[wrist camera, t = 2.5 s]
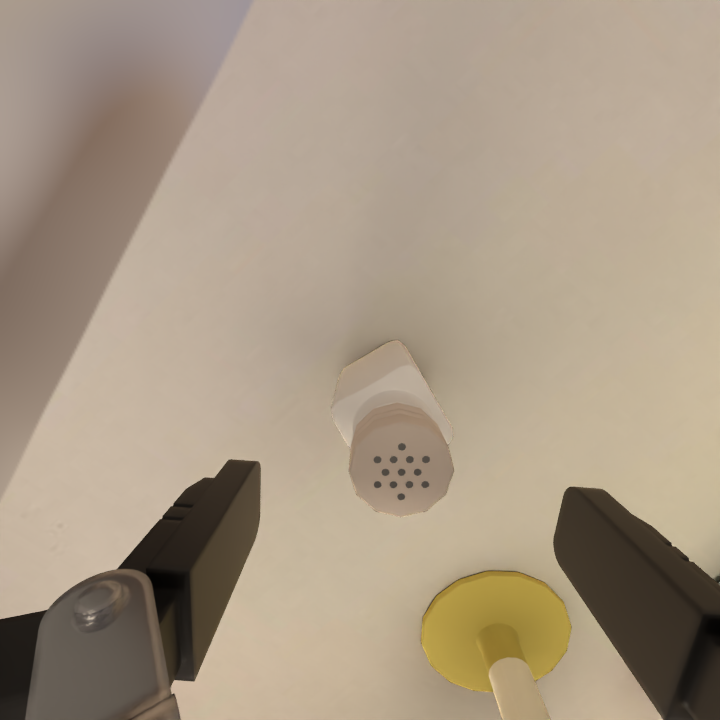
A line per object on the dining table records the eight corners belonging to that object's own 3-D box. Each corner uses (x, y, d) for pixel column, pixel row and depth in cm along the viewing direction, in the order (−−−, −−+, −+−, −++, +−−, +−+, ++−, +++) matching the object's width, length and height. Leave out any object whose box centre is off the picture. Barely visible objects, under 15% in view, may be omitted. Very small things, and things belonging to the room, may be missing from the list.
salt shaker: (398, 333, 19) (428, 385, 10) (432, 393, 20) (491, 493, 11) (336, 369, 20) (310, 450, 10) (372, 426, 21) (377, 549, 11)
